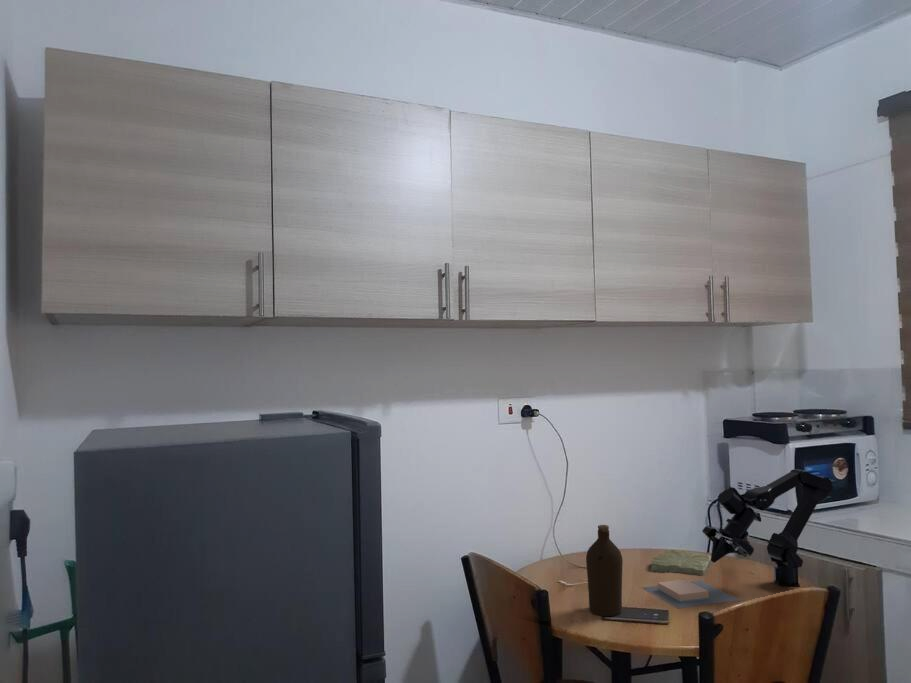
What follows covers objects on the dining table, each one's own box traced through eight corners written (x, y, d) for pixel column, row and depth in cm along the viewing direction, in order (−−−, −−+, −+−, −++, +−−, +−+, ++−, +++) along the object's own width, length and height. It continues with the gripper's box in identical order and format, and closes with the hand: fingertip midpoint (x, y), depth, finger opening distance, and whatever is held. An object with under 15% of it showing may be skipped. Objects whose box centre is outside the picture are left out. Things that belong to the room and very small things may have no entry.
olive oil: (629, 616, 197) (626, 529, 198) (593, 618, 196) (591, 531, 197) (616, 603, 208) (614, 521, 209) (582, 605, 207) (580, 522, 208)
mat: (700, 582, 227) (700, 580, 227) (740, 602, 207) (740, 600, 207) (641, 589, 221) (641, 587, 221) (677, 610, 201) (677, 608, 201)
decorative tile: (712, 563, 249) (712, 553, 250) (704, 578, 232) (704, 568, 232) (660, 557, 258) (660, 547, 258) (648, 571, 240) (648, 561, 241)
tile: (685, 579, 221) (657, 582, 218) (708, 590, 209) (679, 594, 206) (685, 586, 220) (658, 590, 218) (708, 598, 209) (680, 602, 206)
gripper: (776, 546, 212) (748, 586, 209) (736, 532, 230) (709, 569, 227) (754, 523, 210) (725, 563, 207) (715, 511, 228) (688, 548, 225)
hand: (712, 561), depth 217 cm, fingers closed
